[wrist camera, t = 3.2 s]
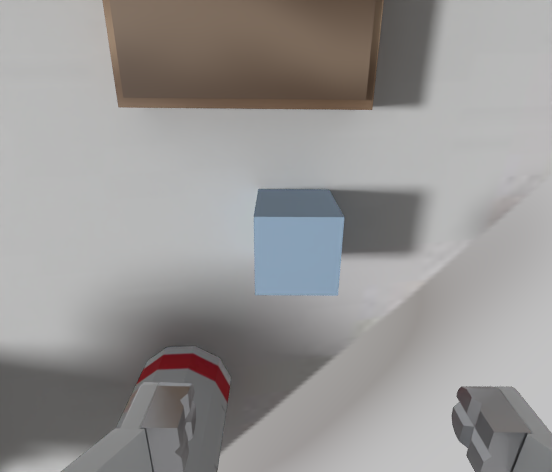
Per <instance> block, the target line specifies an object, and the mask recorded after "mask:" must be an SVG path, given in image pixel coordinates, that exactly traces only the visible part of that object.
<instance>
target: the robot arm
mask: <svg viewBox="0 0 552 472" xmlns="http://www.w3.org/2000/svg"><path fill="white" fill-rule="evenodd" d="M194 393H195V392H194V385H193V384H192V383H166V382H160V383H157V382H143V383H142V385H141V386H140V387H139V389H138V391H137V393H136V396H135V398H134V400H133V402H132V404H131V406H130V408H129V410H128V412H127V415H126V417H125V419H124V421H123V423H122V425H121V427H120V428H115V429H114V430H112V431H111V432H110V433H108V434H107V435H106V436H105V437H103V438H102V439H101V440H100V441H98V442H97V443H96V444H95V445H93V446H92V447H91V448H90V449H88V450H87V451H86V452H85V453H83V454H82V455H81V456H80V457H78V458H77V459H76V460H75V461H73V462H72V463H71V464H70V465H68V466H67V467H66V468H65V469H63V470H62V471H61V472H184V470H185V467H186V463H187V459H188V455H189V445H188V442H189V441H190V440H191V439H192V438H193V434H194V430H195V424H196V404H195V403H194V402H193V397H194ZM457 398H458V400H459V401H460V402H459V403H458V404H457V405H455V406H454V407H453V412H452V425H453V428H454V431H455V434H456V436H457V438H458V440H459V441H460V442H461V443H462V444H463V445H465V446H466V447H467V448H468V451H467V458H468V459H469V461H470V463H471V465H472V467H473V469H474V471H475V472H552V433H551V432H550V431H549V430H548V428H547V427H546V426H545V425H544V423H543V422H542V421H541V420H540V419H539V417H538V416H537V415H536V413H535V412H534V411H533V410H532V408H531V407H530V406H529V405H528V403H527V402H526V401H525V400H524V398H523V397H521V395H520V393H519V392H518V391H517V390H516V389H515V388H513V387H461V388H459V390H458V392H457Z"/></svg>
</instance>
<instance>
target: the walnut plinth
mask: <svg viewBox="0 0 552 472" xmlns="http://www.w3.org/2000/svg"><path fill="white" fill-rule="evenodd" d="M383 3H384V0H103V7H104V13H105V20H106V27H107V33H108V40H109V47H110V54H111V60H112V67H113V74H114V80H115V87H116V94H117V100H118V107H135V108H241V109H348V110H372V107H373V98H374V88H375V79H376V69H377V60H378V50H379V41H380V31H381V22H382V12H383Z"/></svg>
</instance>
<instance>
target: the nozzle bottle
mask: <svg viewBox="0 0 552 472" xmlns="http://www.w3.org/2000/svg"><path fill="white" fill-rule="evenodd" d="M143 382H157V383H160V382H166V383H192V384H193V385H194V392H195V393H194V397H193V402H194V403H195V404H196V424H195V430H194V434H193V438H192V439H191V440H190V441H189V442H188V445H189V455H188V459H187V463H186V467H185V470H184V472H217V470H218V463H219V456H220V450H221V443H222V437H223V430H224V423H225V417H226V410H227V403H228V397H229V390H230V383H231V377H230V375H229V373H228V372H227V370H226V368H225V366H224V364H223V363H222V361H221V359H220V358H219V357H217V356H215V355H213V354H211V353H209V352H207V351H205V350H203V349H201V348H198V347H196V346H181V347H166V348H165V349H164V350H162V351H161V352H159V353H158V354H157V355H155V356H154V357H153V358H151V359H150V360H148V361H147V363H146V365H145V367H144V369H143V371H142V373H141V375H140V378H139V380H138V382H137V384H136V386H135V388H134V390H133V392H132V394H131V397H130V399H129V401H128V403H127V405H126V407H125V409H124V411H123V414H122V416H121V418H120V420H119V422H118V424H117V426H116V428H120V427H121V425H122V423H123V421H124V419H125V417H126V415H127V412H128V410H129V408H130V406H131V404H132V402H133V400H134V398H135V396H136V393H137V391H138V389H139V387H140V386H141V385H142V383H143Z"/></svg>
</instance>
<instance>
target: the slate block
mask: <svg viewBox="0 0 552 472" xmlns="http://www.w3.org/2000/svg"><path fill="white" fill-rule="evenodd" d="M343 229H344V215H343V214H342V212H341V210H340V208H339V206H338V205H337V203H336V201H335V199H334V197H333V196H332V194H331V192H330V190H321V189H258V195H257V201H256V207H255V213H254V257H255V295H338V288H339V276H340V264H341V253H342V241H343Z"/></svg>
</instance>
